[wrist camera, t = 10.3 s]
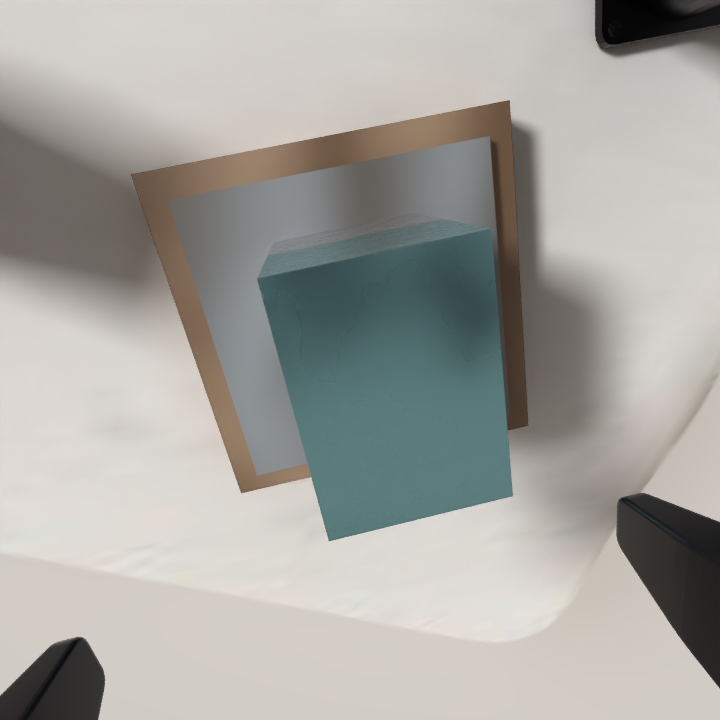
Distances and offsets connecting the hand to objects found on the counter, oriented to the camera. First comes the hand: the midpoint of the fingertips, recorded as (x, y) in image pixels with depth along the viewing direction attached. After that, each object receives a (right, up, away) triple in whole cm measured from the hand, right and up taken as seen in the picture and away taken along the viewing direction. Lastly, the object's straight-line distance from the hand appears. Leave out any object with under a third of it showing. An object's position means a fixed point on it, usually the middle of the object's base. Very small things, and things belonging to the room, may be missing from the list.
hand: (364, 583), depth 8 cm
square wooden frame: (0, +6, +12) cm, 13 cm away
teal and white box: (0, +5, +10) cm, 11 cm away
